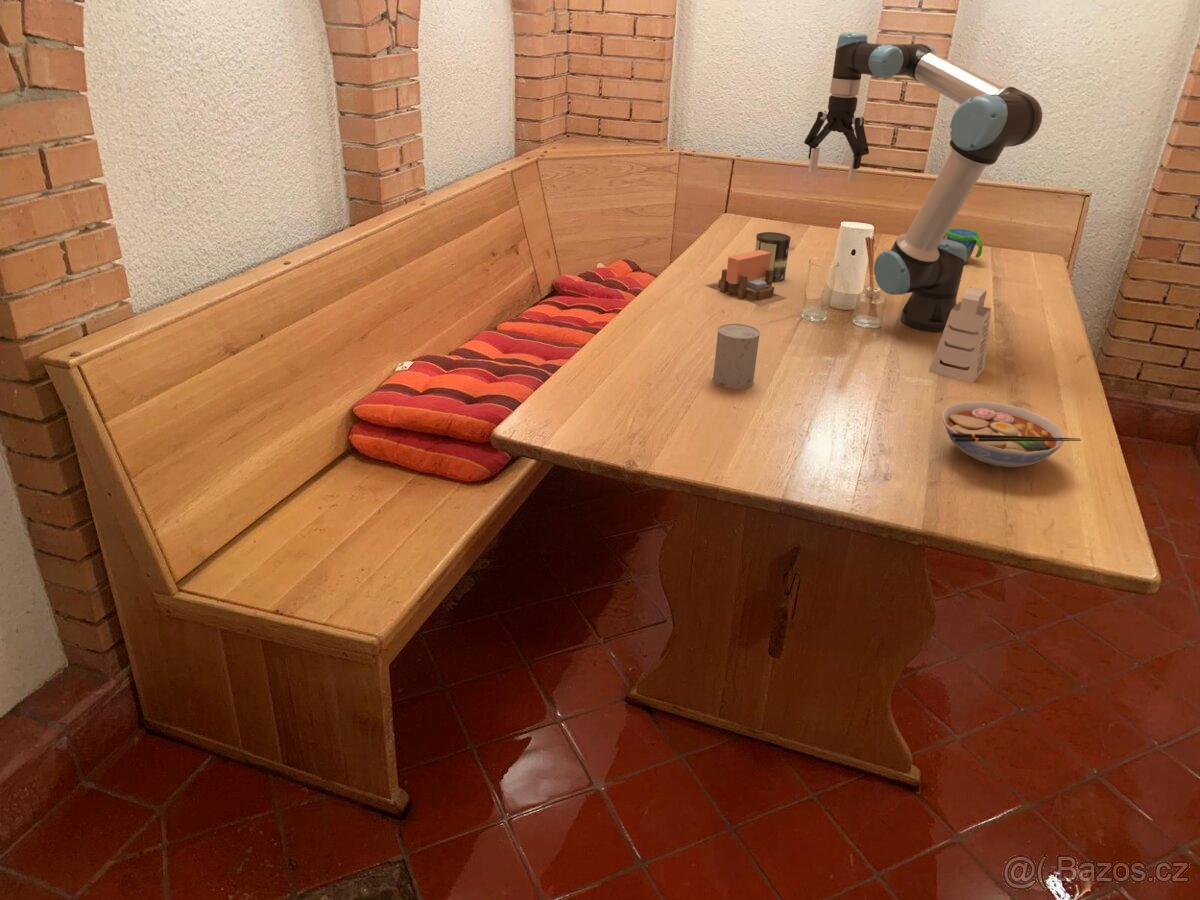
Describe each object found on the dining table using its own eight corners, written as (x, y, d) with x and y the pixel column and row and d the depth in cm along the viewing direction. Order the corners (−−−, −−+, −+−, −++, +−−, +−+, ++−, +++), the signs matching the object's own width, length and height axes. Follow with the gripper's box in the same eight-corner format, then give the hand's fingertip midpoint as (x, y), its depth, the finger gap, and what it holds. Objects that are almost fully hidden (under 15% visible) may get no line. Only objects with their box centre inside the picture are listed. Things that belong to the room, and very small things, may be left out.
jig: (787, 301, 265) (791, 276, 261) (758, 309, 257) (761, 283, 254) (732, 282, 280) (735, 257, 276) (703, 289, 272) (705, 264, 269)
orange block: (768, 276, 269) (771, 253, 266) (736, 284, 261) (738, 260, 257) (757, 272, 271) (760, 249, 268) (725, 280, 263) (728, 256, 260)
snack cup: (985, 266, 307) (993, 236, 302) (963, 269, 302) (970, 239, 298) (950, 254, 319) (956, 225, 314) (928, 257, 314) (934, 227, 310)
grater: (983, 369, 224) (1003, 290, 215) (972, 382, 216) (993, 301, 207) (941, 358, 229) (958, 281, 220) (928, 371, 221) (946, 292, 212)
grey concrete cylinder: (721, 390, 206) (727, 339, 200) (706, 374, 214) (711, 324, 209) (760, 387, 209) (767, 337, 203) (743, 371, 217) (749, 322, 211)
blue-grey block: (765, 295, 265) (767, 282, 263) (756, 298, 263) (757, 284, 261) (735, 285, 273) (736, 272, 271) (725, 287, 271) (727, 274, 269)
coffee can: (781, 276, 287) (787, 232, 280) (787, 286, 278) (793, 241, 271) (749, 275, 287) (754, 231, 280) (753, 285, 278) (758, 239, 271)
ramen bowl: (1028, 433, 193) (1038, 398, 189) (1082, 487, 172) (1095, 449, 169) (912, 431, 191) (920, 395, 188) (953, 485, 171) (963, 447, 167)
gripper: (891, 100, 239) (876, 182, 249) (815, 89, 256) (805, 167, 266) (874, 101, 235) (860, 185, 245) (798, 90, 252) (788, 169, 261)
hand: (831, 176), depth 255 cm, fingers open, 13 cm apart
